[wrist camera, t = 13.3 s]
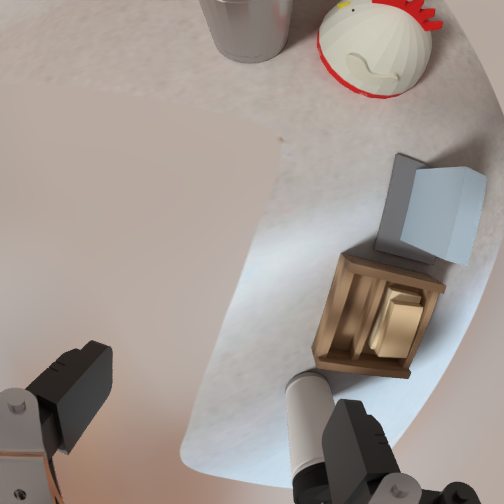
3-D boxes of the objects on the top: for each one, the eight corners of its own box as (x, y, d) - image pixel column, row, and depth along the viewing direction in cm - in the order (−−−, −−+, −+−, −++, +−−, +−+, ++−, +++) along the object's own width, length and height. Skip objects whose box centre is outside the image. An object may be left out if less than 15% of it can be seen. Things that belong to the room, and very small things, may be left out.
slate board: (416, 169, 34) (466, 166, 23) (435, 177, 34) (487, 176, 23) (400, 240, 36) (445, 260, 25) (419, 245, 36) (467, 266, 25)
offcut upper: (389, 299, 35) (394, 304, 34) (418, 303, 35) (423, 307, 34) (374, 350, 37) (378, 356, 35) (402, 352, 37) (406, 357, 35)
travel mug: (338, 377, 41) (375, 487, 21) (314, 410, 42) (334, 519, 22) (300, 363, 40) (319, 479, 21) (277, 397, 42) (281, 512, 22)
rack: (340, 253, 37) (351, 263, 32) (428, 274, 37) (446, 285, 32) (311, 348, 40) (316, 368, 35) (395, 360, 40) (408, 378, 35)
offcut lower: (387, 286, 37) (392, 290, 35) (416, 292, 37) (421, 296, 35) (367, 343, 38) (370, 349, 37) (395, 347, 38) (399, 352, 37)
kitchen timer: (334, -6, 30) (360, -74, 15) (425, 38, 31) (481, -8, 16) (302, 70, 33) (322, 8, 18) (403, 117, 33) (470, 88, 19)
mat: (395, 154, 34) (397, 153, 34) (452, 176, 34) (454, 176, 34) (373, 248, 37) (375, 249, 36) (431, 264, 37) (433, 265, 36)
